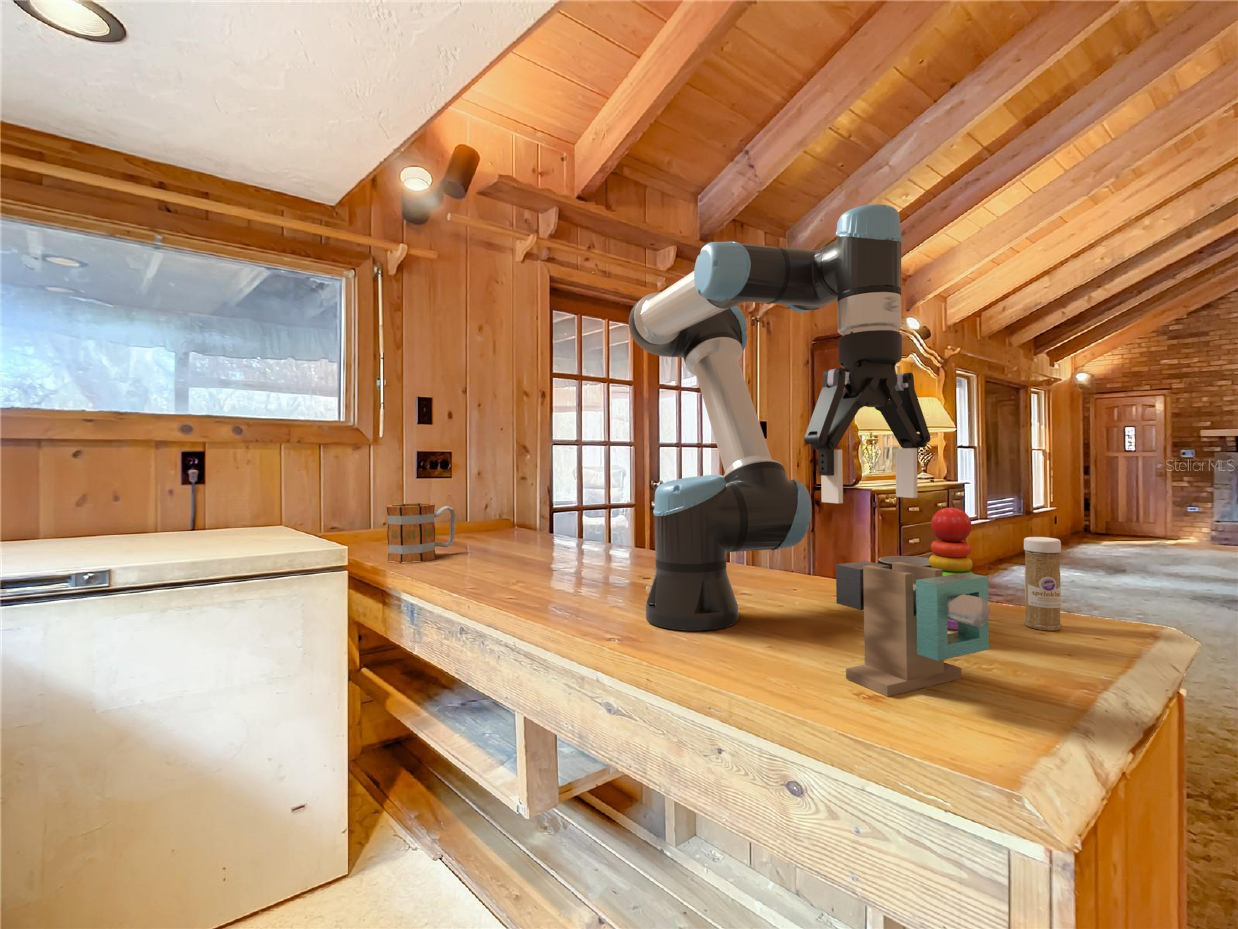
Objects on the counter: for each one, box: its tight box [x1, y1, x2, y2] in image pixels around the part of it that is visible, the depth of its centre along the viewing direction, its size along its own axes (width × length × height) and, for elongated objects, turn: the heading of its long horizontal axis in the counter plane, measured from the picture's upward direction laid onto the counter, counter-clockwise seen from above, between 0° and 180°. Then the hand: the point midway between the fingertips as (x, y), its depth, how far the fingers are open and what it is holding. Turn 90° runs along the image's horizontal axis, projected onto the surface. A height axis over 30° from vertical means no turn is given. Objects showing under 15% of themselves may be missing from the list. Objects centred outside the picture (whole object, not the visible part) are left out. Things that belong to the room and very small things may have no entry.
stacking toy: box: [929, 507, 974, 634], centre depth 86 cm, size 8×8×19 cm
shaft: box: [835, 560, 990, 627], centre depth 70 cm, size 18×5×5 cm, turn 24°
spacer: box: [916, 573, 990, 661], centre depth 65 cm, size 2×8×8 cm, turn 114°
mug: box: [386, 502, 456, 562], centre depth 168 cm, size 20×14×15 cm
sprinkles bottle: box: [1023, 536, 1062, 632], centre depth 90 cm, size 5×5×14 cm
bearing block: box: [845, 562, 963, 697], centre depth 71 cm, size 6×12×13 cm, turn 114°
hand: (870, 500), depth 77 cm, fingers open, 13 cm apart
